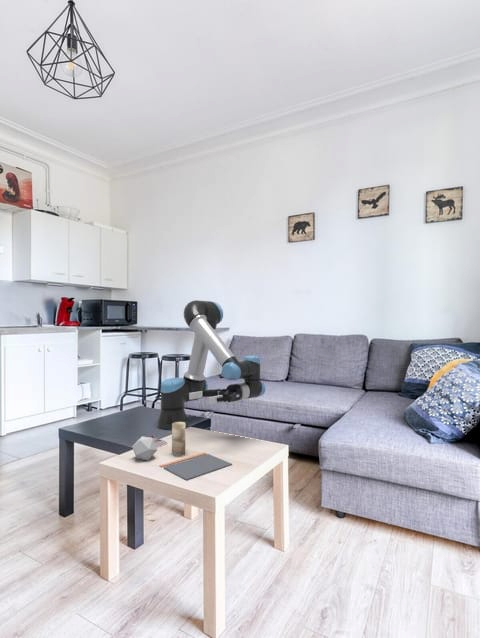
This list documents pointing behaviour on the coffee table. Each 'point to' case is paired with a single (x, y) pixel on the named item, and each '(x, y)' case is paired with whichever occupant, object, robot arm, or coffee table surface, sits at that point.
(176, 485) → the coffee table surface
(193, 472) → the mat
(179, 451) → the beige banded cylinder
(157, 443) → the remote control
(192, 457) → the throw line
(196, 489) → the coffee table surface
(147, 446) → the die
